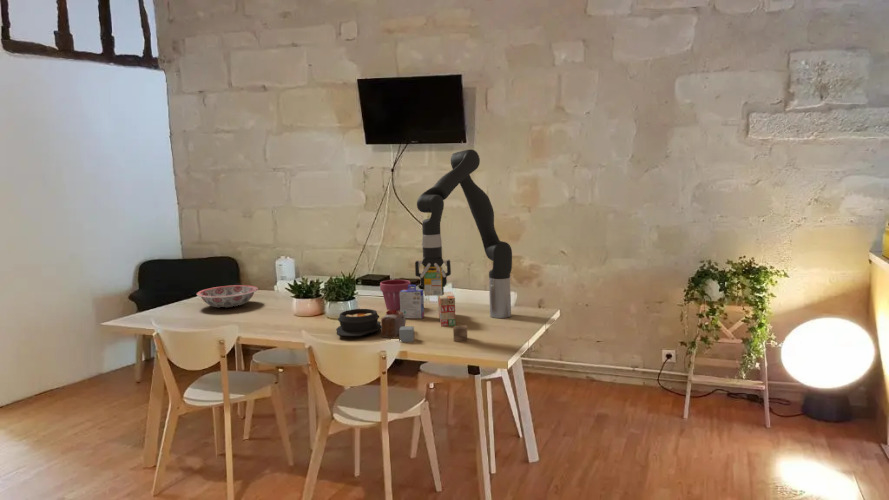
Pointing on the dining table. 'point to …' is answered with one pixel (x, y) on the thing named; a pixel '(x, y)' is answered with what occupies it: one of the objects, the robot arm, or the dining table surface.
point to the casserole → (358, 322)
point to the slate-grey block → (406, 333)
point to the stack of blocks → (447, 309)
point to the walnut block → (460, 333)
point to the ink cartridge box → (412, 302)
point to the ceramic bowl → (227, 295)
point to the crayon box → (433, 282)
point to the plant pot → (393, 292)
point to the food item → (392, 323)
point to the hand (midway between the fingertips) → (433, 286)
